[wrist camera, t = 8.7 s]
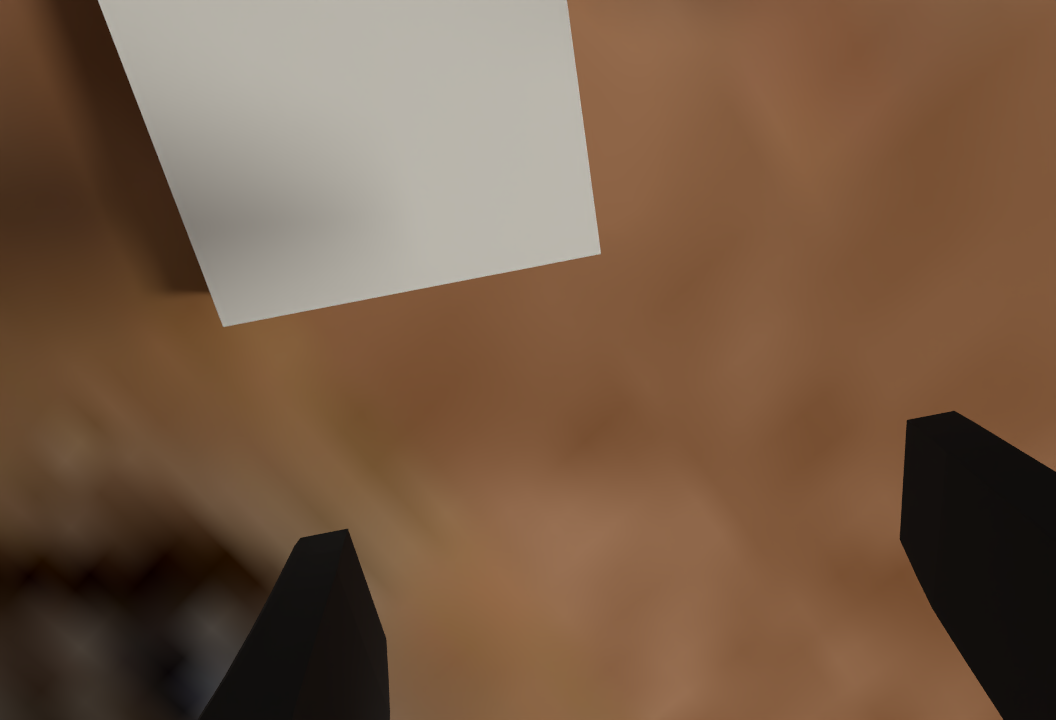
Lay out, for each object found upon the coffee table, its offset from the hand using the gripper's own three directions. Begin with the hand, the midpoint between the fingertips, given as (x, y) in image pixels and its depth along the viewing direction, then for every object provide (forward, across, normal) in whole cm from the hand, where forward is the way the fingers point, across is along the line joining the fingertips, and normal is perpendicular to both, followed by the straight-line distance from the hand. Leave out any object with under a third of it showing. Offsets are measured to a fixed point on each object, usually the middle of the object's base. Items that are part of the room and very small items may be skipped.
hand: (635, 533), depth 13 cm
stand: (+10, +3, -4) cm, 11 cm away
